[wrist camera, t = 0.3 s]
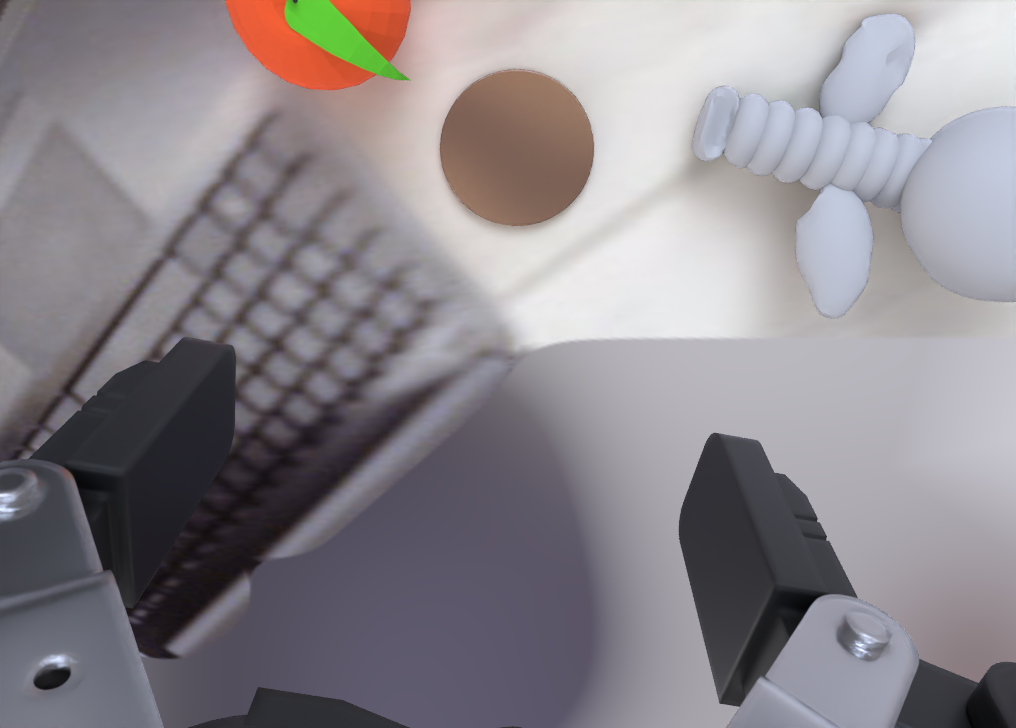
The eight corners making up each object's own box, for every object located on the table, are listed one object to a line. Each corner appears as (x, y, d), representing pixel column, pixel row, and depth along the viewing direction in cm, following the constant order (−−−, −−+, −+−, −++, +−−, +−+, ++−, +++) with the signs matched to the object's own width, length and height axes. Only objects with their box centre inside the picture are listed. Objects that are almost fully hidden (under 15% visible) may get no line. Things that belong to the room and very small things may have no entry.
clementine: (476, -4, 32) (461, 9, 25) (380, 125, 34) (345, 165, 28) (316, -151, 29) (256, -177, 23) (227, 0, 32) (153, 13, 26)
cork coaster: (451, 55, 33) (450, 56, 33) (608, 84, 33) (609, 86, 33) (432, 209, 36) (431, 212, 36) (575, 234, 37) (575, 237, 36)
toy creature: (766, -67, 28) (1330, 72, 26) (729, 2, 35) (1169, 113, 34) (664, 270, 29) (1184, 414, 28) (648, 269, 37) (1061, 383, 35)
